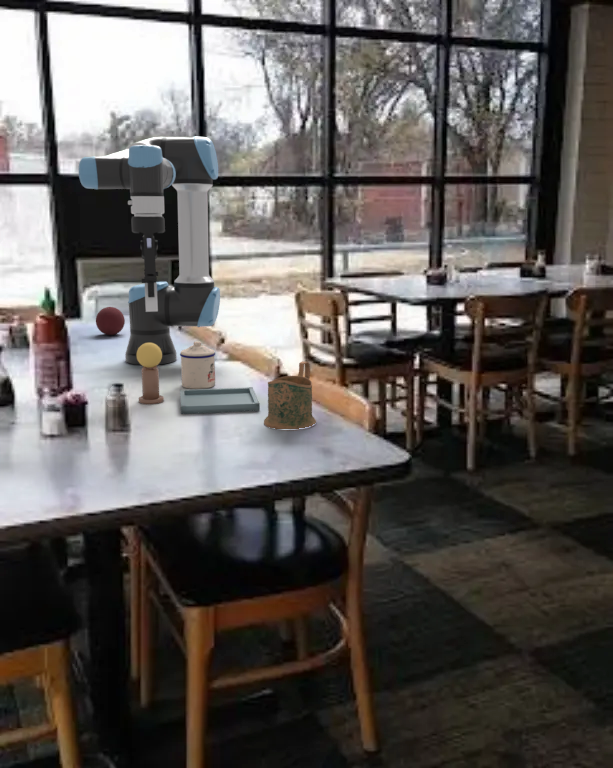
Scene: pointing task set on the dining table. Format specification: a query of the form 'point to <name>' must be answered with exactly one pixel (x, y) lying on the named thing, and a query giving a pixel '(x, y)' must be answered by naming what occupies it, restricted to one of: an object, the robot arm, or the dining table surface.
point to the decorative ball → (110, 321)
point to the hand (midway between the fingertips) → (151, 307)
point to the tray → (218, 400)
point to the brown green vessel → (290, 401)
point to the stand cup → (150, 386)
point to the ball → (149, 355)
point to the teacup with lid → (198, 367)
